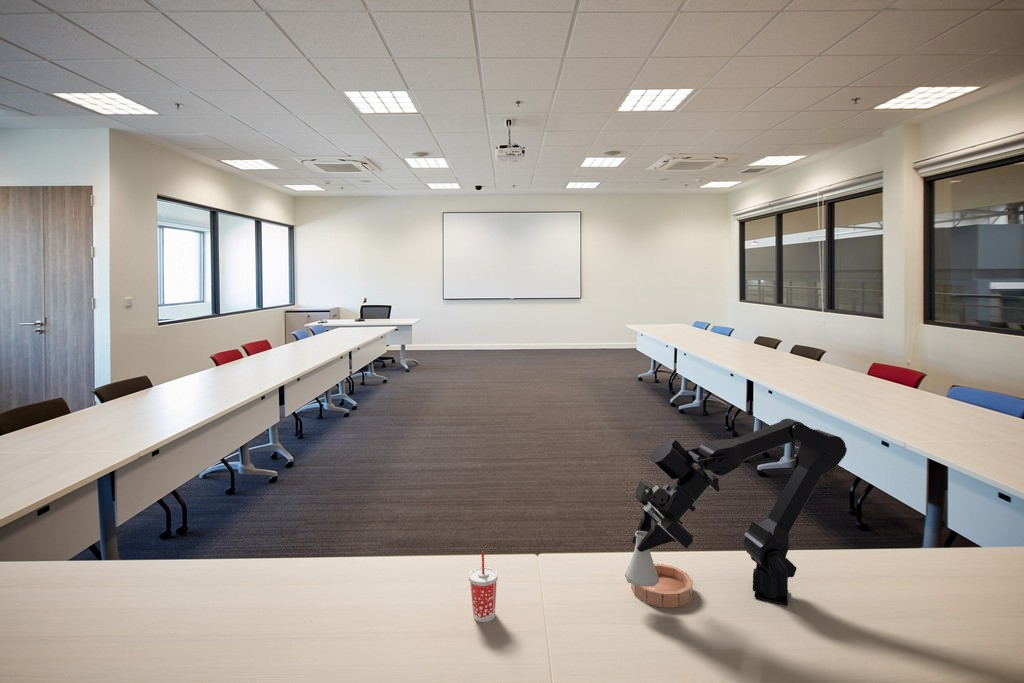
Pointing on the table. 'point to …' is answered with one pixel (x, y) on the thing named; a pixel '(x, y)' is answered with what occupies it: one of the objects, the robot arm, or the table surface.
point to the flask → (641, 566)
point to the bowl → (666, 588)
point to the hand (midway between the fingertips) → (636, 546)
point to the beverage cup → (483, 592)
